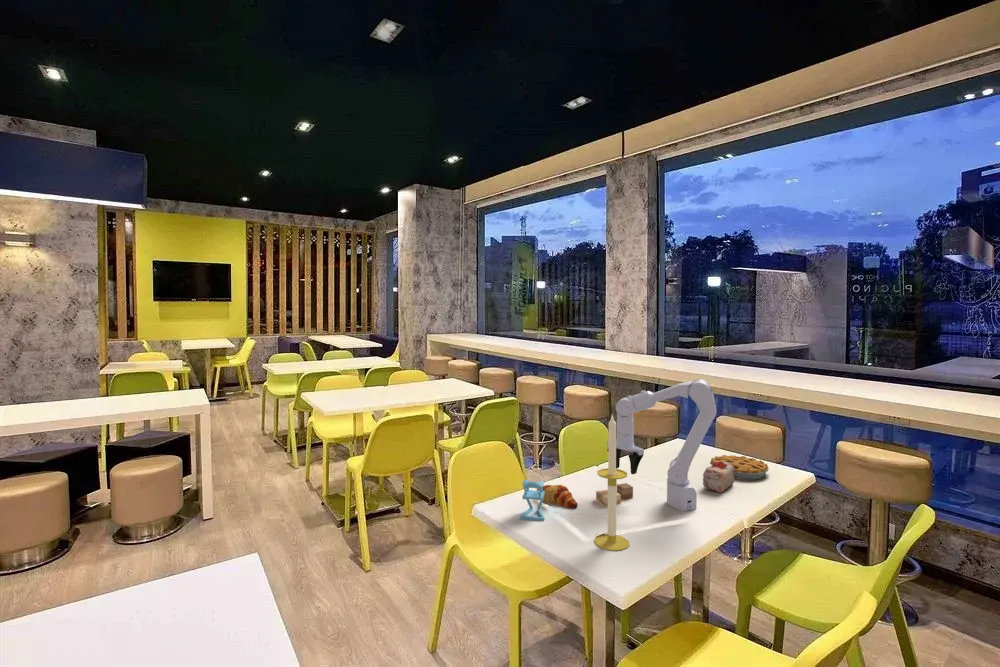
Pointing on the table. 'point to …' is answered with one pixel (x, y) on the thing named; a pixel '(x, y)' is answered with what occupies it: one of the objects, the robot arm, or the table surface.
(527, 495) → the chair
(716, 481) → the food item
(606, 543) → the candle
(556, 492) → the croissant
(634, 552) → the table surface
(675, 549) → the table surface
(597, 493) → the oak base
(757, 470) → the pie
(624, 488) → the walnut block
